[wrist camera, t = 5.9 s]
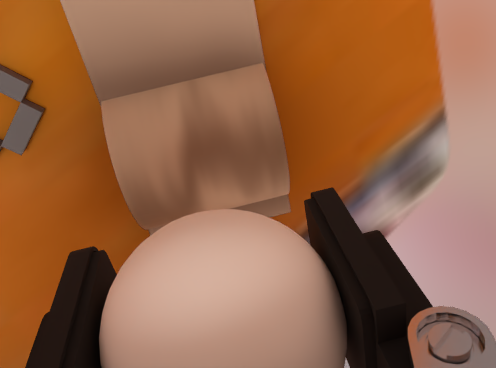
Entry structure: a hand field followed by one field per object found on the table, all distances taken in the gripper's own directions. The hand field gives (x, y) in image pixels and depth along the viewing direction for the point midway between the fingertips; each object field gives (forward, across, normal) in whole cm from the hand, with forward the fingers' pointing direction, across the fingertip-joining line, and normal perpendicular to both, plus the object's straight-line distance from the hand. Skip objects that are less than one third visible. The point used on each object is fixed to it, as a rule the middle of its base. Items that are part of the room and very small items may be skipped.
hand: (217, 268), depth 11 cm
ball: (+1, 0, 0) cm, 1 cm away
